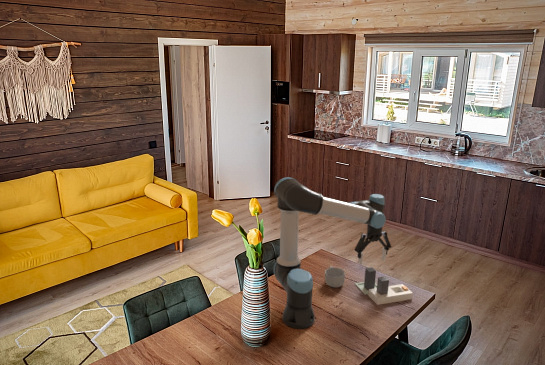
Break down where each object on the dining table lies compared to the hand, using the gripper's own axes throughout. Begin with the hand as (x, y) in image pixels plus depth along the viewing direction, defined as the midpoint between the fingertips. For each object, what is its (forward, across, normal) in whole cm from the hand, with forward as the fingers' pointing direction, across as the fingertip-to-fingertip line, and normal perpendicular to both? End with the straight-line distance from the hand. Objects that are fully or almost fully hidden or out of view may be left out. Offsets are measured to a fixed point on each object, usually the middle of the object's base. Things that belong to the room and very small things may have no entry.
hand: (371, 261), depth 224 cm
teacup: (+16, -16, +10) cm, 25 cm away
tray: (+16, 0, 0) cm, 16 cm away
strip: (+16, +6, -11) cm, 20 cm away
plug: (+15, 0, 0) cm, 15 cm away
